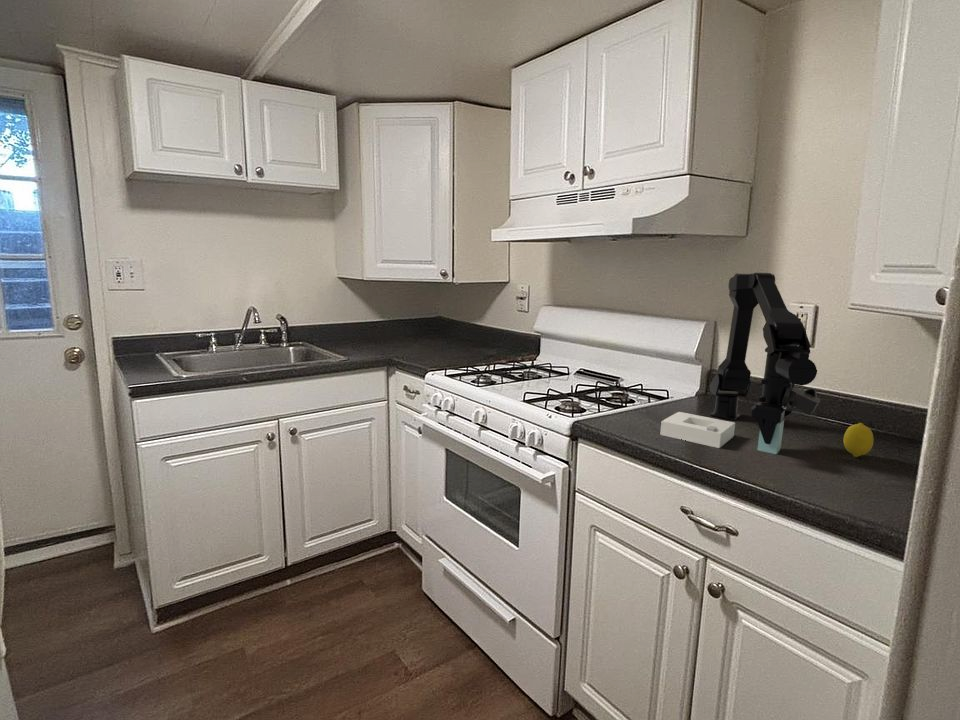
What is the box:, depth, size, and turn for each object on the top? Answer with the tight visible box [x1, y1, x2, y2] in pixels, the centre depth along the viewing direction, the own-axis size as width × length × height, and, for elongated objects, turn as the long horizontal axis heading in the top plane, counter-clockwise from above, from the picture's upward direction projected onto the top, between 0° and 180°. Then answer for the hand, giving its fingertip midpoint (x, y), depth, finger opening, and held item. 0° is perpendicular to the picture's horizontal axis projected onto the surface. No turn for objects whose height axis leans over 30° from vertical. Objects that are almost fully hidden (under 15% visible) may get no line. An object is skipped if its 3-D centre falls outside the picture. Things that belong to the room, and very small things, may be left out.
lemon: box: [843, 422, 874, 458], centre depth 125 cm, size 6×6×8 cm
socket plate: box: [659, 411, 736, 449], centre depth 137 cm, size 12×14×4 cm
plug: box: [756, 419, 785, 455], centre depth 127 cm, size 4×4×8 cm
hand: (769, 441), depth 128 cm, fingers closed on plug, 4 cm apart
